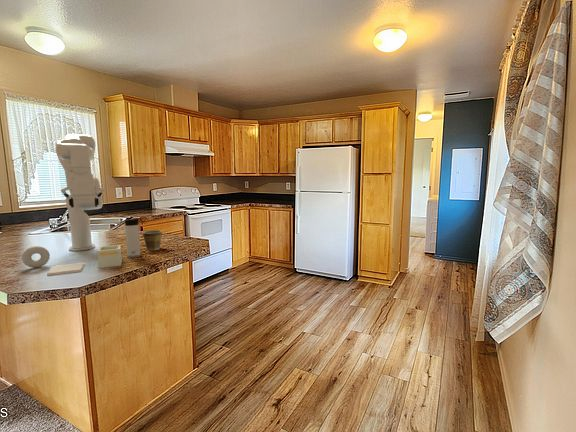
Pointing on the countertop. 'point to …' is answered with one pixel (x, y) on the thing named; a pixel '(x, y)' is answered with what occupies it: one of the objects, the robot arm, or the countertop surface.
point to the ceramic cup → (152, 239)
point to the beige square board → (66, 268)
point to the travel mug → (132, 238)
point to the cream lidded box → (109, 256)
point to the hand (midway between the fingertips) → (84, 206)
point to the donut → (33, 250)
